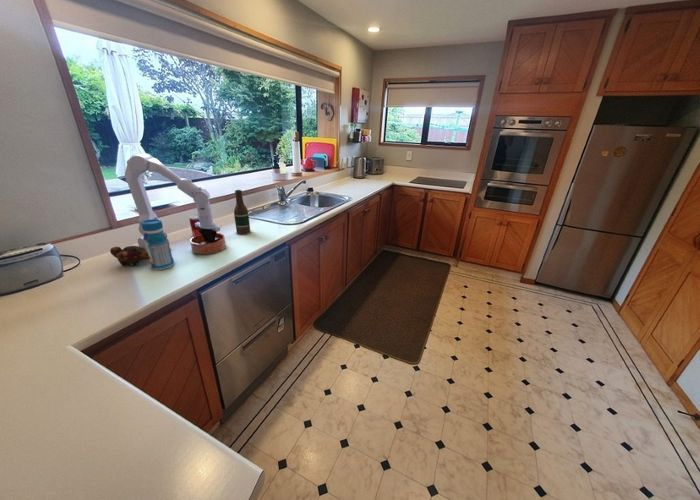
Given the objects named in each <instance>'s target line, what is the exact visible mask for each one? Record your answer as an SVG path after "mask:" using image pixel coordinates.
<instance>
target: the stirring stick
mask: <svg viewBox="0 0 700 500" xmlns="http://www.w3.org/2000/svg"><path fill="white" fill-rule="evenodd" d="M217 241H219V238H215V242H217ZM208 243H210V242H209V240H208V241H206V242H203V243H200V244H208Z"/></svg>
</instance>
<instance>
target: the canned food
mask: <svg viewBox="0 0 700 500" xmlns="http://www.w3.org/2000/svg"><path fill="white" fill-rule="evenodd" d="M188 219H189V223H190V229H191V233H192V237H194V236H197V235H200V234H201V233H200V232H199V231H198V230H199V229H200V227H195V223H196V222H200V221H199V216H198V213H197V214H192V215H190V216H189V218H188Z"/></svg>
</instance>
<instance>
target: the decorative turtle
mask: <svg viewBox="0 0 700 500" xmlns="http://www.w3.org/2000/svg"><path fill="white" fill-rule="evenodd" d="M109 252H110V254H111V256H113V258H115V259H116V260H117V261H118V263H120V265H121V266H123V267H125V266H127V265H128V264H130V265H131V266H134V267H135V266H138V264H139V262H141V261H150V258H149V255H148V253H147V251H146V250H145V249H144V248H142V247H139V245H128V246H124V247H123V248H122V247H120V246H113V247H111V248H110V250H109Z"/></svg>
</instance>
